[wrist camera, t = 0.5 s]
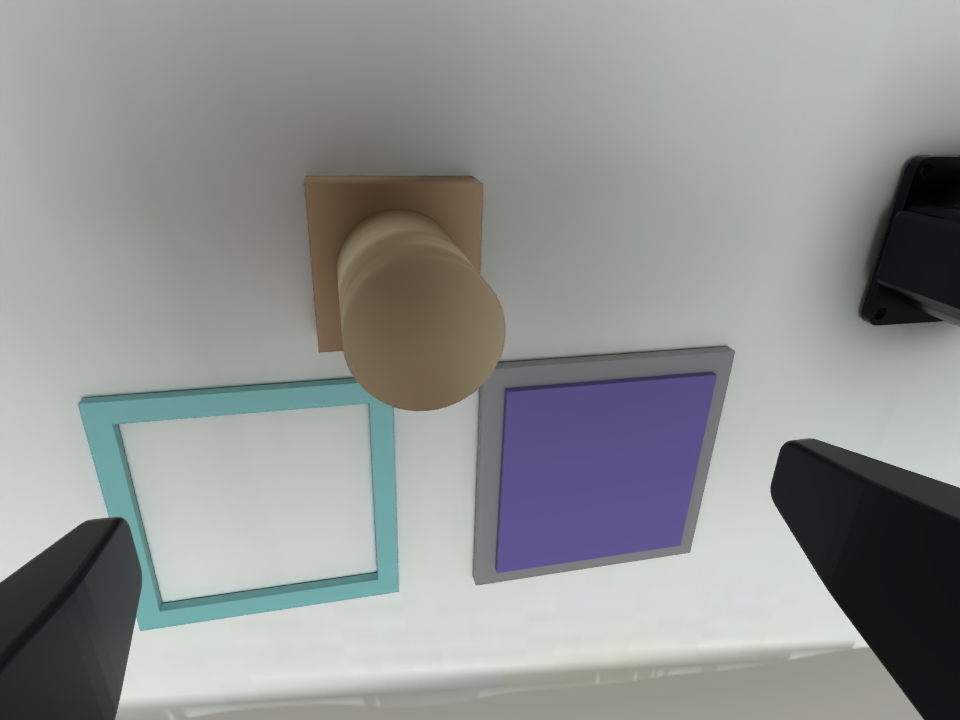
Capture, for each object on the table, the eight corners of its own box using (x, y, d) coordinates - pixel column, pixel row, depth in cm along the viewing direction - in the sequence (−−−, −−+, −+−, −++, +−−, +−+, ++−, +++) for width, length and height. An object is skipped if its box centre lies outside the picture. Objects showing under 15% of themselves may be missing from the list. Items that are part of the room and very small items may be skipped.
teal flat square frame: (391, 375, 21) (392, 380, 21) (397, 584, 25) (398, 591, 25) (82, 398, 19) (77, 404, 19) (142, 622, 23) (140, 630, 23)
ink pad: (727, 346, 24) (739, 354, 23) (683, 545, 28) (693, 557, 28) (480, 364, 22) (486, 373, 21) (473, 576, 26) (477, 591, 25)
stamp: (471, 175, 19) (542, 223, 13) (467, 324, 21) (527, 426, 15) (305, 175, 18) (297, 227, 12) (319, 332, 20) (318, 446, 14)
